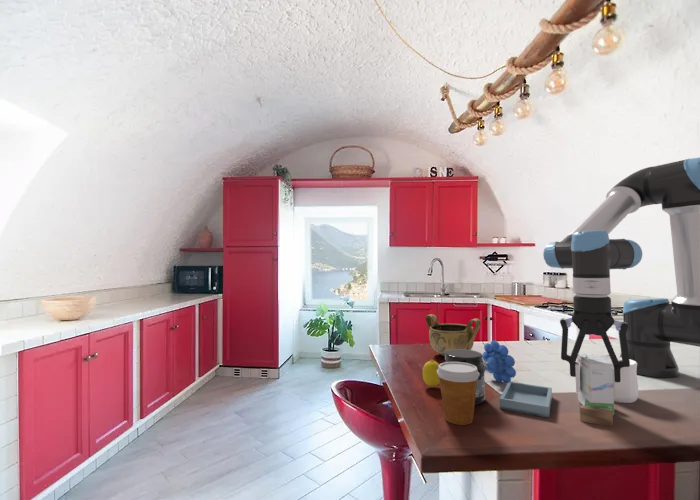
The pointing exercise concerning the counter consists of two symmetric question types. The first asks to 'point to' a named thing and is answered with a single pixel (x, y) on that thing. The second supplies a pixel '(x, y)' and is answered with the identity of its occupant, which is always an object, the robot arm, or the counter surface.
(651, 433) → the counter surface
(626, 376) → the cup
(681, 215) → the robot arm
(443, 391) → the disposable coffee cup
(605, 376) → the ink box
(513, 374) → the grapes
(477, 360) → the supplement container
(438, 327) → the ceramic bowl
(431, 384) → the lemon
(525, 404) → the tray
